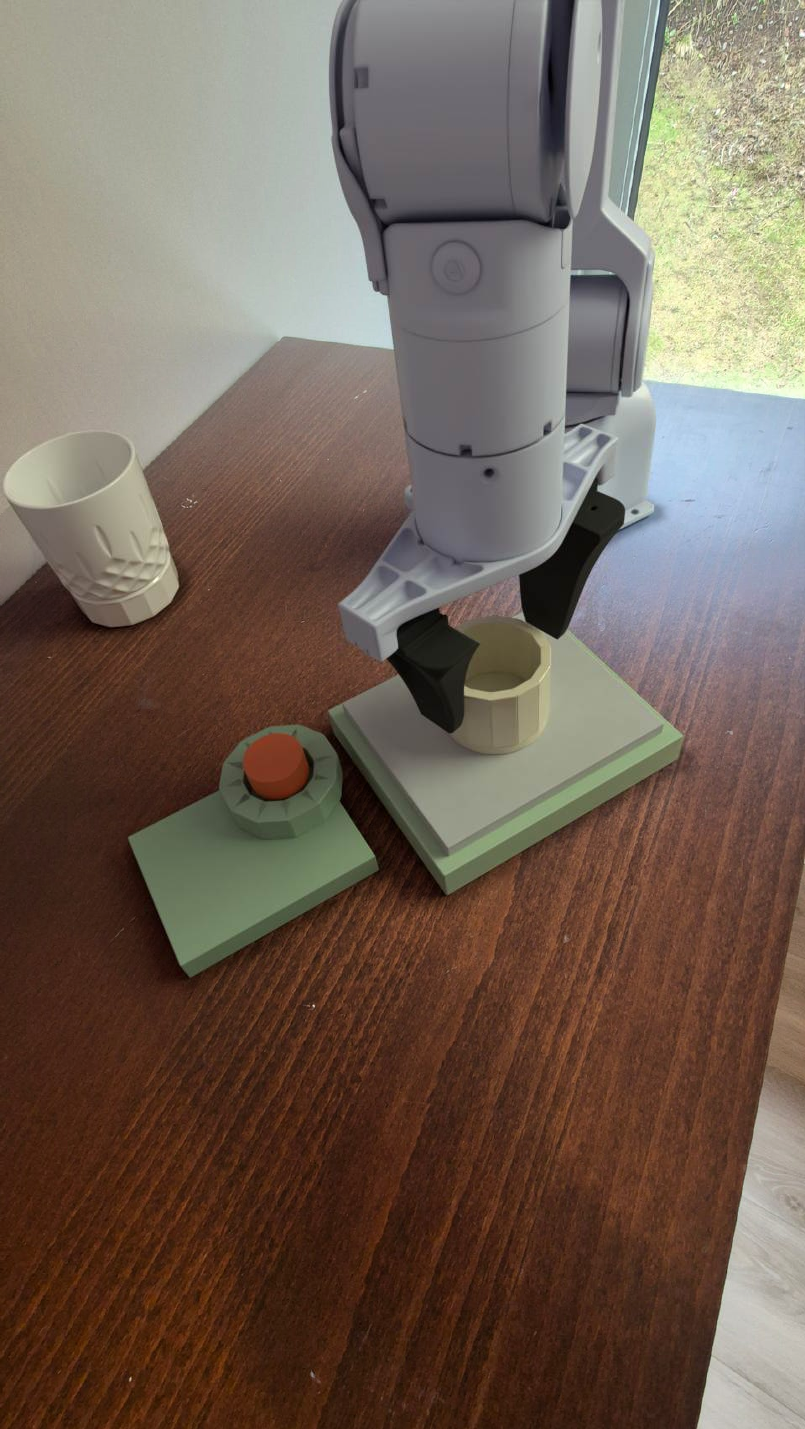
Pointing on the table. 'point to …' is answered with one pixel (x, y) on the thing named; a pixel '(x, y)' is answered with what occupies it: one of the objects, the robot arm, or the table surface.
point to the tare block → (251, 856)
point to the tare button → (276, 766)
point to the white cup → (95, 524)
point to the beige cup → (504, 686)
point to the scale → (504, 764)
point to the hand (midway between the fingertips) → (495, 671)
